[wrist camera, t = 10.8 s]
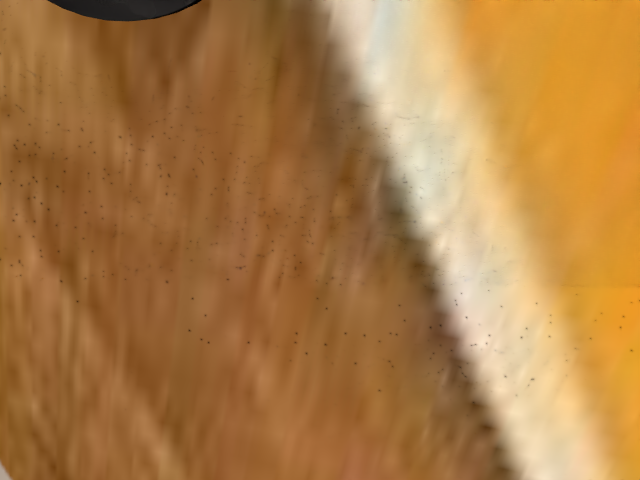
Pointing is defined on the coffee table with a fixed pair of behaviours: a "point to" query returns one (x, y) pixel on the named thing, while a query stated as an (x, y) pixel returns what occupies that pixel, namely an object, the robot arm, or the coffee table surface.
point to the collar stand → (125, 8)
